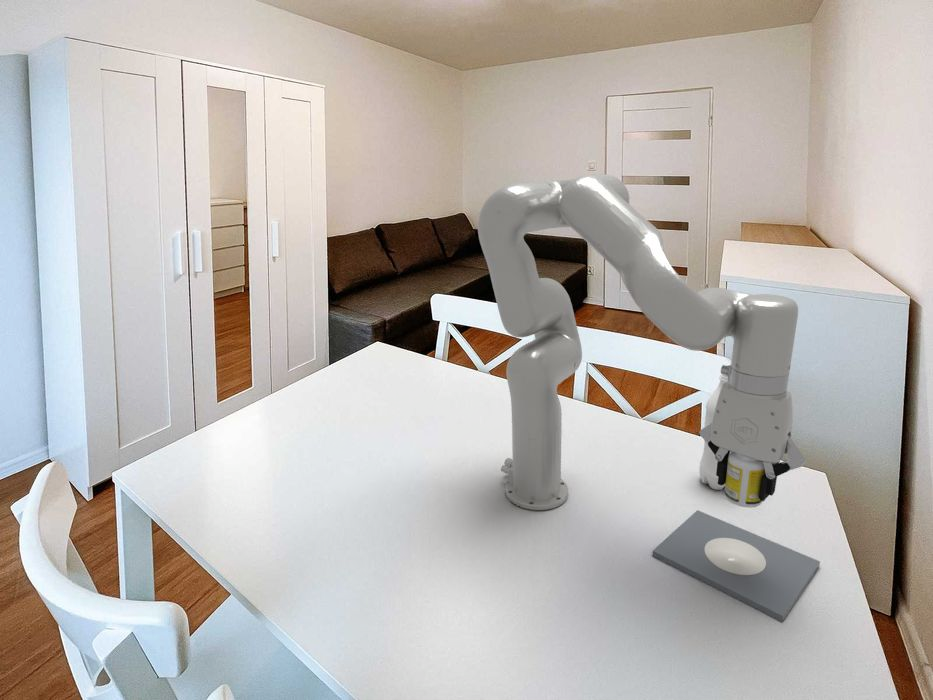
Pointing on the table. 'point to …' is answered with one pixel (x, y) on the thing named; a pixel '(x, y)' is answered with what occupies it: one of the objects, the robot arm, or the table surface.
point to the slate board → (739, 563)
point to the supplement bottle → (743, 480)
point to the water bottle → (708, 459)
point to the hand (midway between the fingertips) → (743, 488)
